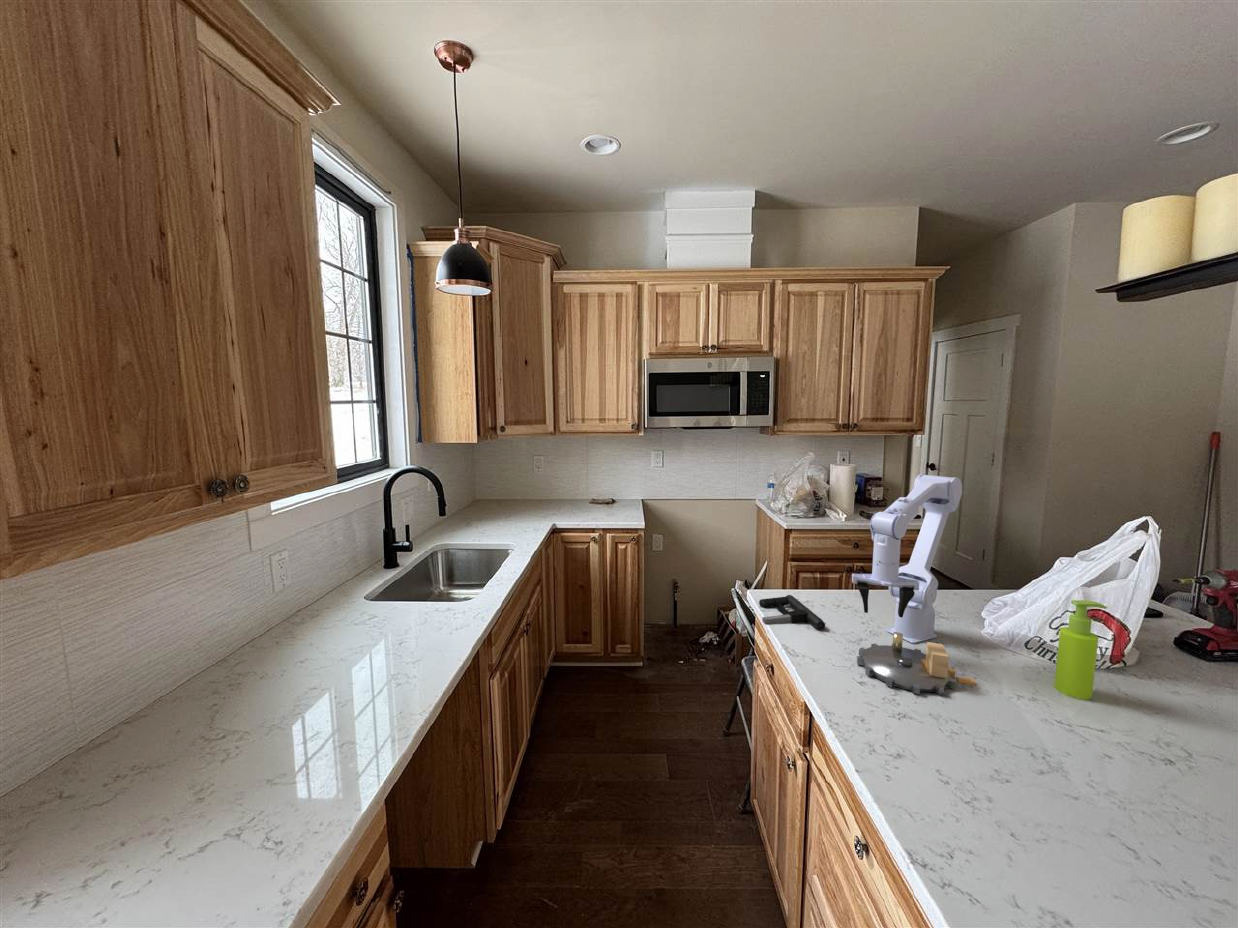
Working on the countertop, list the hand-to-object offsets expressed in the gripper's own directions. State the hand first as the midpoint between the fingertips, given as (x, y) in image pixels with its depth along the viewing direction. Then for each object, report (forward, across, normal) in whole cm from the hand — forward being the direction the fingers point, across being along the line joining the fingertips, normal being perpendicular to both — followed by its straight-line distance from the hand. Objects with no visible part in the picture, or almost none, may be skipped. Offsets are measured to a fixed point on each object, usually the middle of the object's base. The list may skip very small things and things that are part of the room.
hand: (882, 613), depth 121 cm
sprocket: (+9, +4, -10) cm, 14 cm away
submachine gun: (+10, -23, +12) cm, 28 cm away
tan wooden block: (+8, +10, -11) cm, 16 cm away
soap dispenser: (+10, +36, -6) cm, 38 cm away
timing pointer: (+9, +16, -10) cm, 21 cm away
